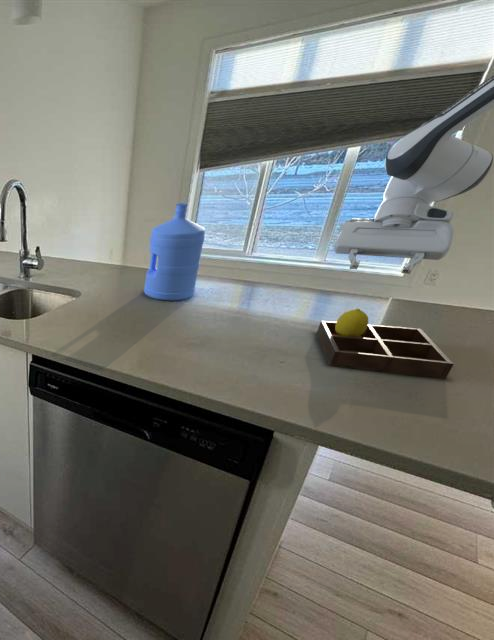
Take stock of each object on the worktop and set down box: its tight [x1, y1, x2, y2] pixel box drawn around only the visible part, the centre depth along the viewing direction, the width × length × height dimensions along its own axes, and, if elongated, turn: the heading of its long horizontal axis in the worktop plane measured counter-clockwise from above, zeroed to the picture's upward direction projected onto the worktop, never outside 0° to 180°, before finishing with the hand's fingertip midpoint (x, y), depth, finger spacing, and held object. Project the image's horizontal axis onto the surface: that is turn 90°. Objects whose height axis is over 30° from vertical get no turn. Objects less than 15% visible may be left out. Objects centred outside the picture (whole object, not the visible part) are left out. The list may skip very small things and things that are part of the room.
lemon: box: [335, 308, 369, 337], centre depth 94 cm, size 6×6×8 cm
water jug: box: [143, 202, 206, 302], centre depth 129 cm, size 16×16×28 cm
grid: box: [315, 320, 455, 380], centre depth 90 cm, size 18×18×4 cm
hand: (379, 270), depth 97 cm, fingers open, 8 cm apart
